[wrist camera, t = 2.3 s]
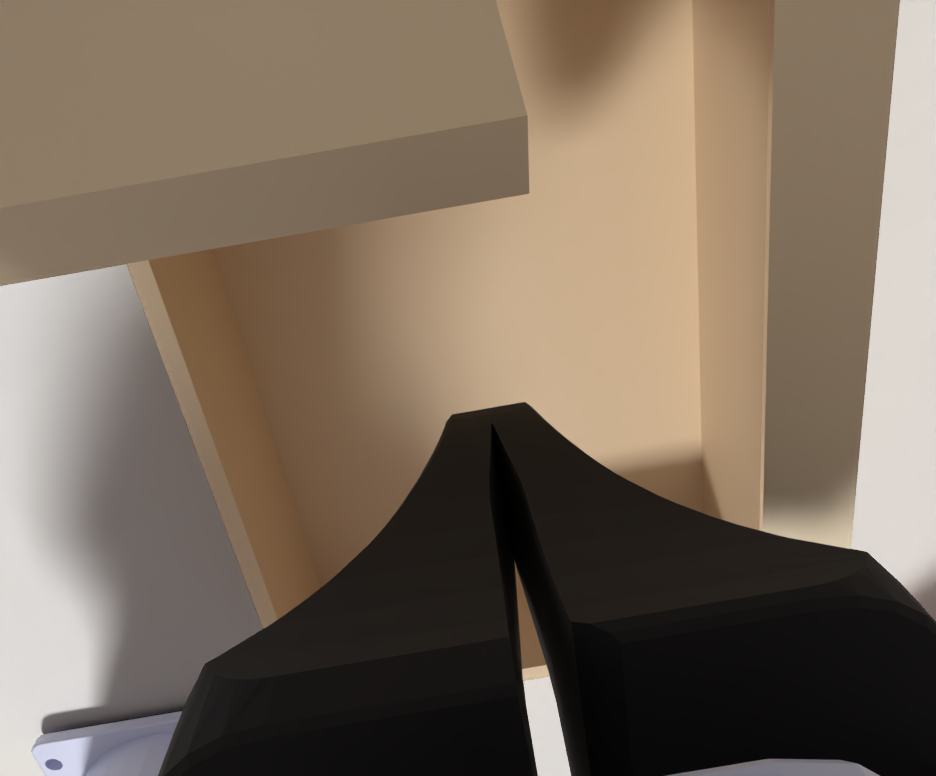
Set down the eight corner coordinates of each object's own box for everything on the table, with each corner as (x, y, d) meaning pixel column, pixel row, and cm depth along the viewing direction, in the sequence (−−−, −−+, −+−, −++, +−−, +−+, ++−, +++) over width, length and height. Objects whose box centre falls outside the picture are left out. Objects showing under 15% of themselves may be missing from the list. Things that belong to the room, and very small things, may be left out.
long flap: (785, 600, 16) (833, 609, 16) (755, 844, 12) (822, 867, 11) (812, -36, 11) (887, -51, 10) (776, -56, 6) (907, -84, 6)
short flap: (529, 193, 7) (527, 115, 7) (-26, 290, 7) (-101, 225, 7) (454, -97, 10) (446, -177, 10) (59, -26, 10) (15, -100, 10)
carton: (715, 539, 21) (777, 638, 17) (318, 606, 21) (296, 718, 17) (707, -92, 14) (806, -147, 11) (125, 12, 14) (25, -7, 11)
